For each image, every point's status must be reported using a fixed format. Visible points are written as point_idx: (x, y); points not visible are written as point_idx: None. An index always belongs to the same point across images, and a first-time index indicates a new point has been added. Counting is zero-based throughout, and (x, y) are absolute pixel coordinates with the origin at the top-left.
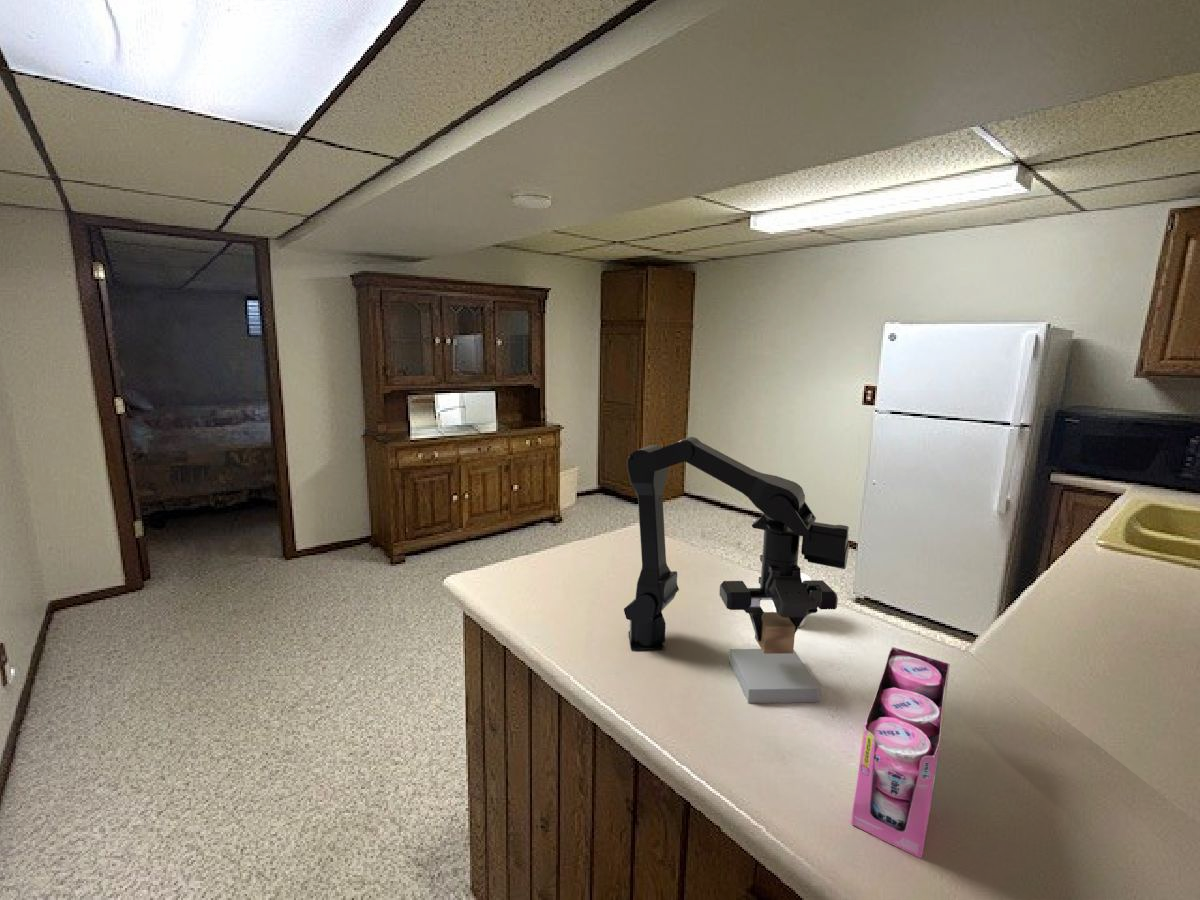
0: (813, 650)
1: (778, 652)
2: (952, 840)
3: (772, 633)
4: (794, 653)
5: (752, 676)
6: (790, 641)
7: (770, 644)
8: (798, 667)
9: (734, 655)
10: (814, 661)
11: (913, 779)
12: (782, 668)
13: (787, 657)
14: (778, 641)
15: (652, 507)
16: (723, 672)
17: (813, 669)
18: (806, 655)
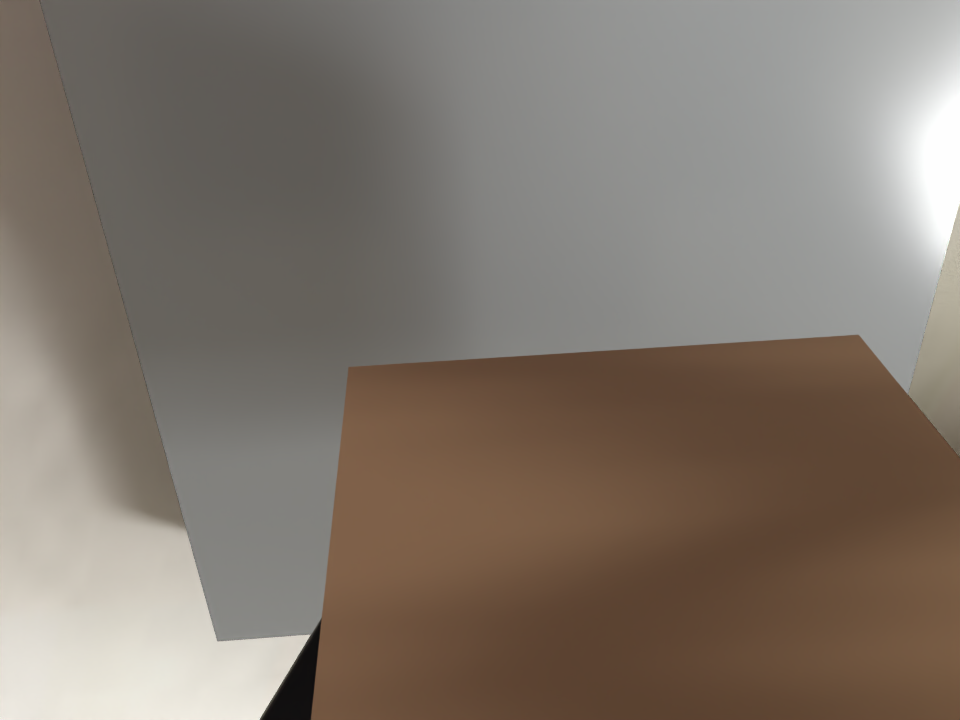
0: (18, 669)
1: (615, 359)
2: None
3: (924, 648)
4: (221, 573)
5: (855, 166)
6: (414, 520)
7: (828, 447)
8: (233, 359)
9: None
10: (31, 544)
11: None
12: (429, 333)
13: (314, 511)
14: (686, 501)
15: None
16: (932, 360)
17: (59, 443)
18: (91, 610)
